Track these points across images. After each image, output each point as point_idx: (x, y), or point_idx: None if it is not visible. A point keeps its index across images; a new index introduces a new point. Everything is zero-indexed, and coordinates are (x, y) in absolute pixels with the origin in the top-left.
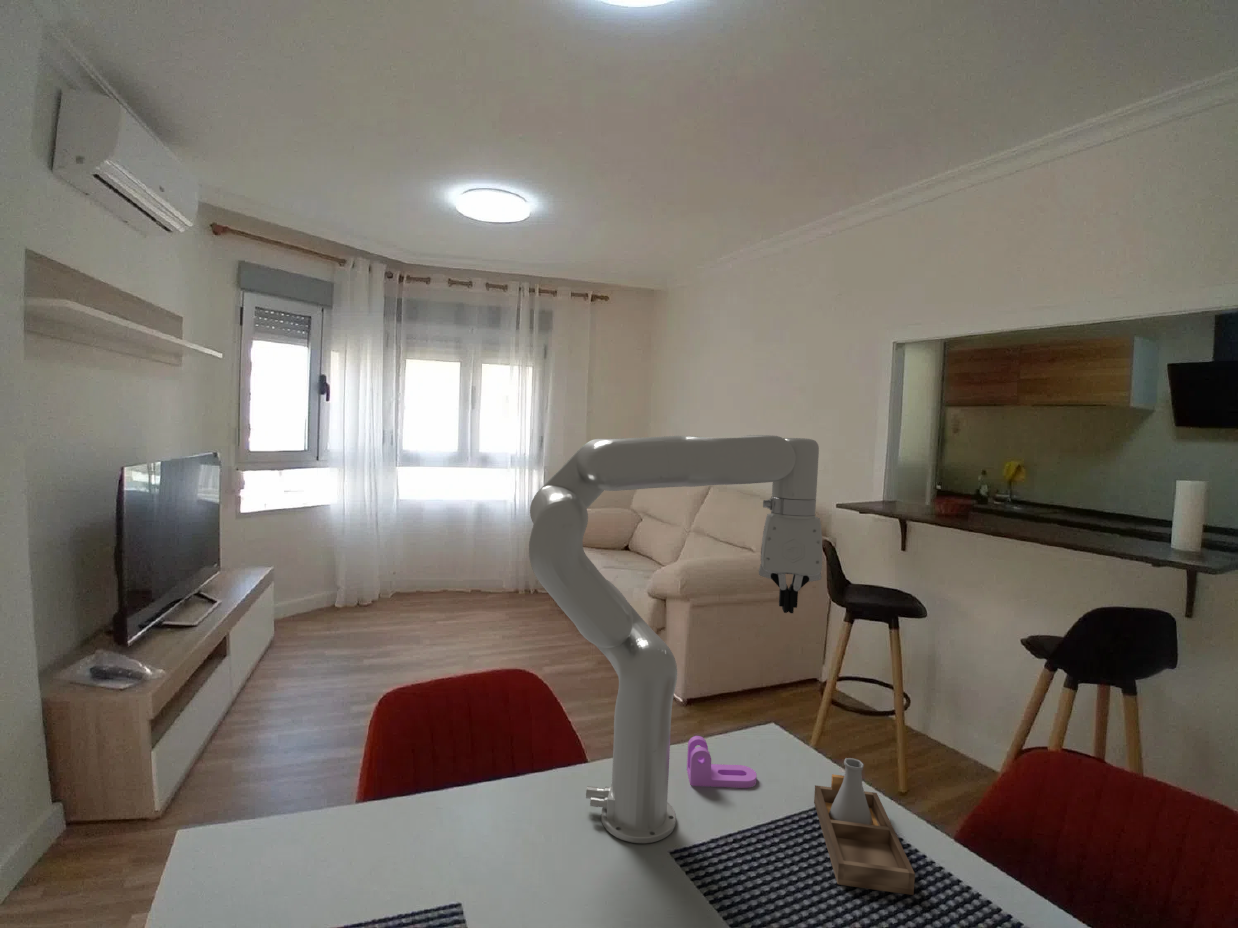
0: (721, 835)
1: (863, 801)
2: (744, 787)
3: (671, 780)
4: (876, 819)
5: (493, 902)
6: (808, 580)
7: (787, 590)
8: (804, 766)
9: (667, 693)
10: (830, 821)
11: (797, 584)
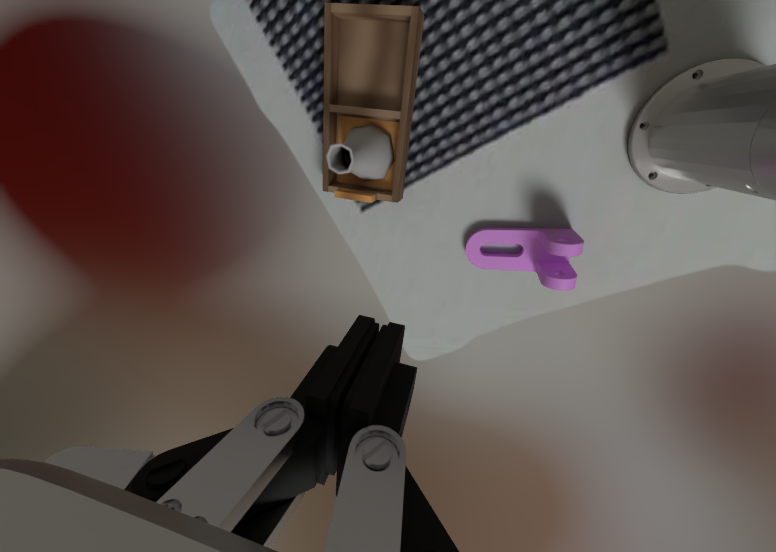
0: (560, 106)
1: (346, 138)
2: (488, 227)
3: (599, 240)
4: None
5: None
6: (157, 458)
7: (352, 416)
8: (392, 276)
9: None
10: (401, 114)
11: (258, 438)
